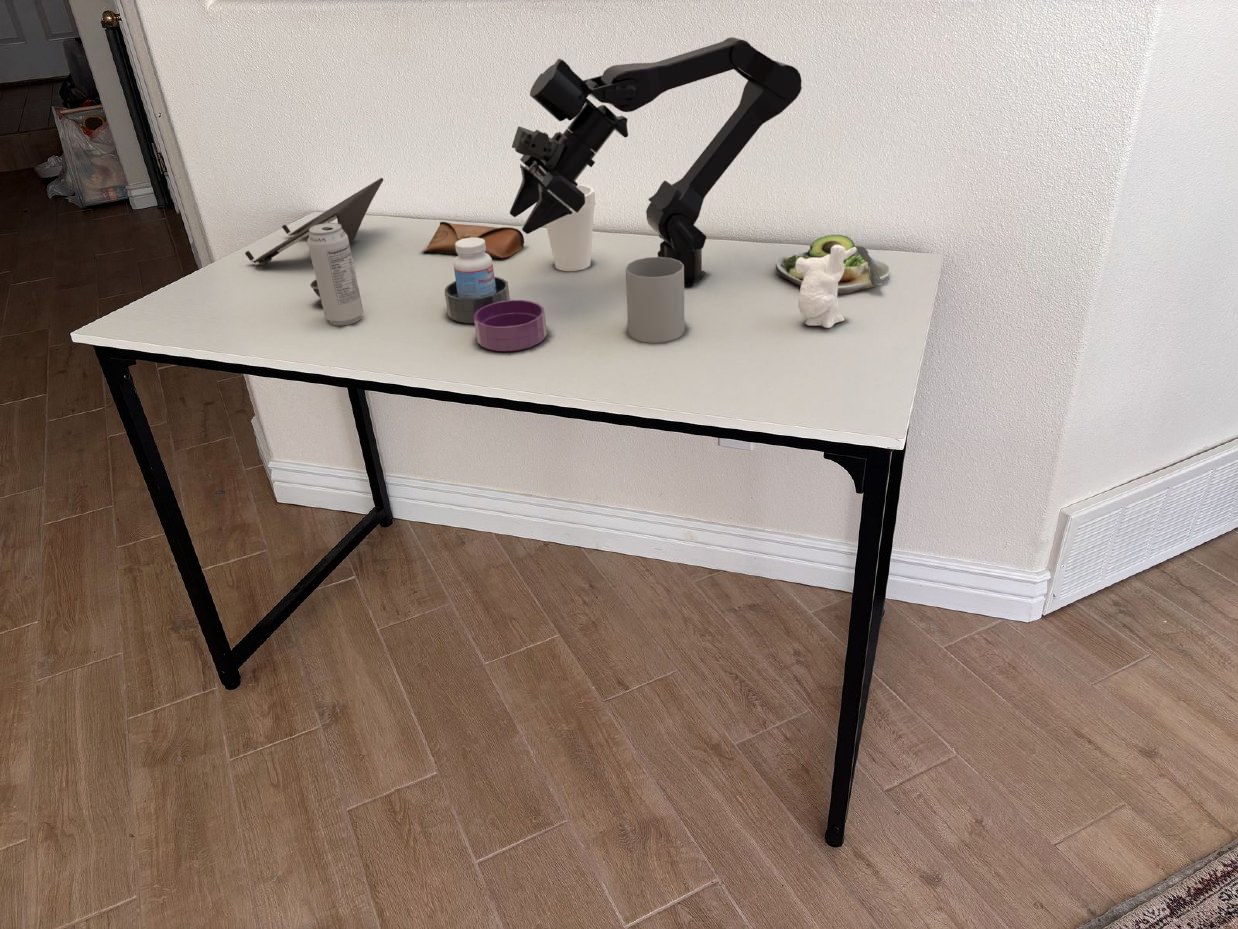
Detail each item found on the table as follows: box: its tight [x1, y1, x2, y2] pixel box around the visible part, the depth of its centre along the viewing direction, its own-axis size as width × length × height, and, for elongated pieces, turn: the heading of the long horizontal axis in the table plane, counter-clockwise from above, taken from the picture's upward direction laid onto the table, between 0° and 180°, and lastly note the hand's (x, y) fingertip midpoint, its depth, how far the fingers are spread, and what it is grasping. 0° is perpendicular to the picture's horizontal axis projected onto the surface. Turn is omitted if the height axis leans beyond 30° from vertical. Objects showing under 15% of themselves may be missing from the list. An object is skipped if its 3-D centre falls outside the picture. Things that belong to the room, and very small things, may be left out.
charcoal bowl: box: [444, 276, 511, 324], centre depth 147 cm, size 10×10×4 cm
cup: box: [624, 256, 686, 344], centre depth 136 cm, size 8×8×10 cm
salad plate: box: [775, 234, 891, 295], centre depth 152 cm, size 19×18×5 cm
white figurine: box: [795, 245, 857, 329], centre depth 135 cm, size 8×7×12 cm
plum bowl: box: [474, 299, 548, 352], centre depth 138 cm, size 10×10×4 cm
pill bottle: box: [453, 238, 496, 299], centre depth 145 cm, size 6×6×11 cm
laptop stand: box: [244, 177, 384, 267], centre depth 177 cm, size 23×23×9 cm
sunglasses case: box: [422, 221, 525, 259], centre depth 174 cm, size 18×7×7 cm
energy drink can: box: [307, 222, 364, 326], centre depth 145 cm, size 6×6×15 cm
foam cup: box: [545, 183, 596, 272], centre depth 161 cm, size 10×9×13 cm
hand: (518, 223), depth 143 cm, fingers open, 9 cm apart
